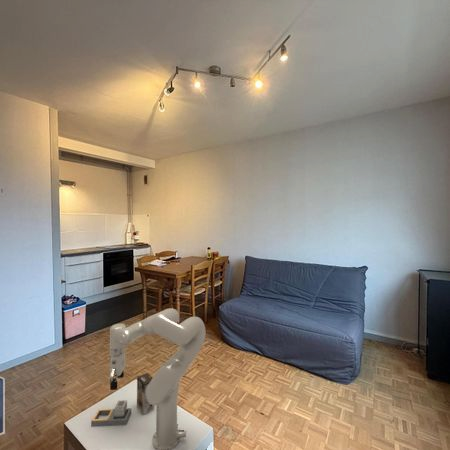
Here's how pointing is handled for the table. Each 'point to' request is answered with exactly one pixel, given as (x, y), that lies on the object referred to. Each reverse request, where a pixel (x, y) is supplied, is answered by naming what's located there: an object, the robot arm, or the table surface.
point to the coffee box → (143, 393)
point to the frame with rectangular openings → (109, 418)
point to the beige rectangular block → (121, 409)
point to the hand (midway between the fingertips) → (117, 383)
